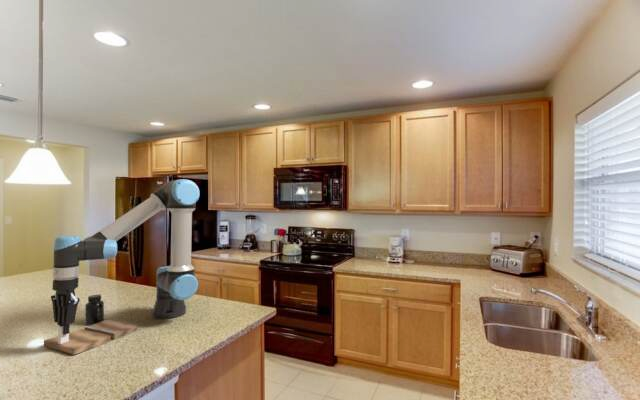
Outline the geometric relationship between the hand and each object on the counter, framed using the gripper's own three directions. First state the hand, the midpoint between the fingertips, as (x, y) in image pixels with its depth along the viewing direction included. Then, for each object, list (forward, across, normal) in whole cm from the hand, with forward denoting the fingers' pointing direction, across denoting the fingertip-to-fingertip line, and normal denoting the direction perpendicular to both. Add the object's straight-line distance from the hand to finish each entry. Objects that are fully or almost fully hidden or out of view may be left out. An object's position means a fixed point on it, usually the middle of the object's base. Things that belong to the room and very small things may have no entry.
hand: (63, 342), depth 119 cm
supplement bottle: (+2, -16, +22) cm, 27 cm away
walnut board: (+2, 0, +18) cm, 18 cm away
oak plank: (+2, 0, +5) cm, 5 cm away
